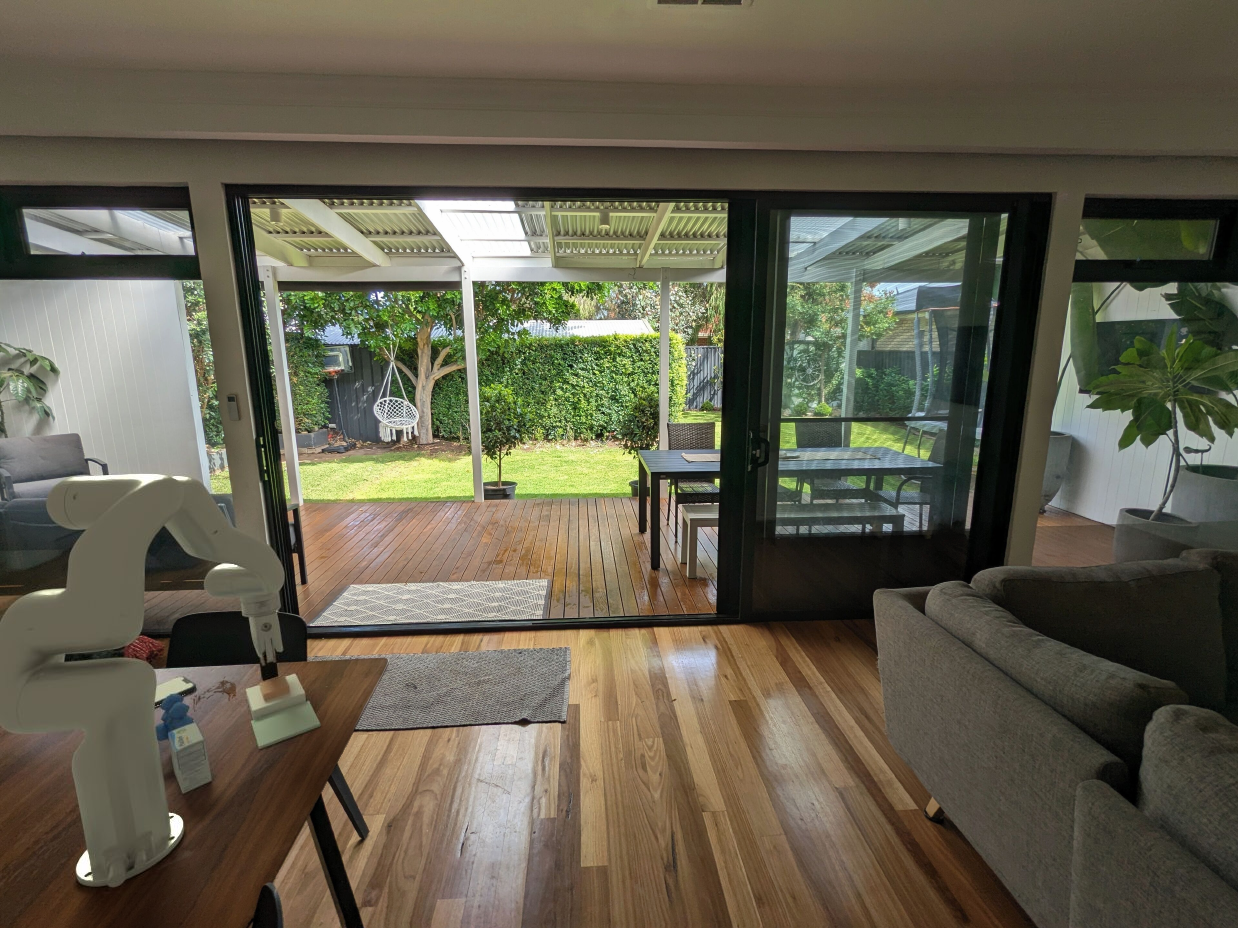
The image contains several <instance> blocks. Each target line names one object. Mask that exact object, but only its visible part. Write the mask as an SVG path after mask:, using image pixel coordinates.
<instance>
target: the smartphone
mask: <svg viewBox="0 0 1238 928" xmlns="http://www.w3.org/2000/svg"><path fill="white" fill-rule="evenodd" d="M195 689H196V690H197V685H196V683H194V682H193V681H191V680H190V679H188V678H187V677H185V676H178V677H175V678H173V679H169V680H168V681H165V682H162V683H159V684H157V685H156V696H155V706H157V705H160V704H162V702H163V700H164V699H165V698H166V697H167V696H169V695H170V694H174V693H175V694H178V695H180V696H182V695H184V694H187V693H189V694H191V693H193V692H195V691H196V690H195ZM194 690H195V691H194ZM192 691H193V692H192ZM190 692H191V693H190ZM187 695H188V694H187ZM184 696H185V695H184ZM182 697H183V696H182ZM160 706H161V705H160Z"/></svg>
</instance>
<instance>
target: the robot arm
mask: <svg viewBox="0 0 1238 928" xmlns="http://www.w3.org/2000/svg"><path fill="white" fill-rule="evenodd" d="M45 502H46V503H45V505H46V511H47V513H48V515H49V517H50V518H51V520H52V521H53V522H54V523H55V524H57V525H59V526H60V527H63V528H64V529H69V530H77V531H78V530H81V531H82V530H84V532H83V533H82V534H81V535H80V536H79V538H78V539H77V540H76V542H75V543H74V545H73V547H72V548H71V550H70V553H69V557H68V564H67V565H68V566H67V578H66V586H65V587H64V588H50V589H42V590H37V591H34V592H30V593H27V594H25V595H23V596H21V597H19V598H18V599H17V600H15V601H14V602H13V603H11V605H10V606H9V607H8V608H7V610H6V611H5V613H4V614H3V616H2V618H1V619H0V727H2V728H3V730H5V731H7V732H9V733H13V734H17V735H19V734H20V735H31V734H43V733H53V732H54V733H55V732H63V731H68V732H71V731H83V732H84V738H83V739H82V741H81V743H80V744H79V745H78V747H76V750H75V751H74V754H73V755H72V759H71V772H72V778H73V780H74V786H75V791H76V797H77V802H78V807H79V813H80V818H81V822H82V823H81V824H82V829H83V834H84V839H85V845H86V850H85V851H84V852H83V854H81V855H82V856H80V858H79V860H78V862H77V864H76V866H75V876H76V879H77V882H78V883H80V884H81V885H83V886H86V887H103V886H104V887H105V886H108V887H110V888H115V887H118V886H120V885H122V884H124V882H125V881H126V880H128V879H130V878H133V877H134V876H137V875H139V874H140V873H143V872H144V871H146V870H148V869H150V868H152V867H153V866H154V865H156V864H157V863H158V862H160V861H162V860H163V858H166V856H167V855H169V854H170V853H171V852H172V851H173V849H174V848H176V847H177V845H178V844H179V843H180V841H181V840H182V838H183V835H184V832H185V823H184V819H183V818H182V817H181V816H180V815H179V814H176V813H173V812H172V813H171V812H170V811H169V805H168V799H167V793H166V791H167V790H166V786H165V779H164V773H163V767H162V760H161V754H160V748H159V743H158V740H157V735H156V728H155V727H156V718H155V709H156V707H155V696H156V686H157V685H158V684H157V683H158V682H157V680H158V679H157V674H156V670H155V668H154V667H153V666H152V665H151V664H150V663H149V662H148V661H144V660H142V659H139V658H132V657H112V658H111V657H110V658H109V657H108V658H96V659H86V660H77V661H65V657H66V655H68V654H80V653H81V654H82V653H95V652H101V651H102V652H103V651H108V650H109V651H110V650H115V649H120V648H123V647H126V646H128V645H130V644H132V643H133V642H134V641H136V639H138V637H139V636H140V634H141V632H142V630H143V626H144V620H145V619H144V618H145V578H146V577H145V574H146V573H145V569H146V567H145V566H146V558H147V552H148V550H149V547H150V545H151V543H152V541H153V539H154V538H155V536H156V535H157V534H158V533H159V532H160V530H161V529H162V528H163V527H165V529H167V530H168V532H169V533H170V534H171V535H172V536H173V538H174V539H175V540H176V542H177V543H178V544H179V545H180V547H181V548H182V549H183V551H184V552H185V553H187V554H188V555H189V556H192V557H193V558H194V557H195V558H198V559H202V560H205V561H210V562H215V563H220V564H218V565H216V566H214V567H212V569H210V570H209V571H208V573H207V574H206V576H205V577H204V580H203V581H204V582H203V587H204V591H205V593H206V594H207V595H208V596H209V597H211V598H213V599H221V600H223V599H227V600H228V599H238V598H239V600H240V607H241V615H242V616H243V617H245V618H248V621H249V626H250V633H251V638H252V642H253V646H254V648H255V651H256V654H257V656H258V657H259V668H260V675H261V676H260V678H261V679H262V681H263V682H265V681H268V680H271V679H274V678H278V677H279V670H278V661H277V658H276V652H277V653H278V652H279V653H282V652H283V651H284V647H283V641H282V635H281V627H280V621H279V617H278V612H277V611H279V610H280V608H281V607H282V606H281V599H280V598H281V597H280V590H281V588H282V587H283V586H284V583H285V570H284V567H283V564H282V562H281V560H280V559H279V557H278V555H277V553H276V551H275V550H274V549H273V548H272V546H270V545H269V544H268V543H266V542H265V541H263V540H262V539H260V538H257V537H256V536H254V535H252V534H250V533H248V532H246V531H244V530H241V529H239V528H236V527H234V526H232V525H231V523H230V522H229V520H228V518H227V517H226V516H225V514H224V513H223V512H222V510H221V508H220V507H219V505H218V503H216V501H215V499H214V497H213V496H212V495H211V492H210V491H209V490H208V489H207V488H206V486H205V485H204V483H202V482H201V481H200V480H198V479H197V478H193V477H189V476H178V475H177V476H174V475H172V476H171V475H166V474H159V473H158V474H157V473H156V474H155V473H154V474H153V473H136V474H135V473H133V474H132V473H131V474H113V475H112V474H111V475H110V474H109V475H90V476H89V475H88V476H87V475H86V476H73V477H69V478H66V479H63V480H61V481H60V482H58V483H57V484H55V485H54V486H52V488H51V489H50V491H49V492H48V494H47V496H46V501H45Z"/></svg>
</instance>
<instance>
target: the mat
mask: <svg viewBox="0 0 1238 928" xmlns="http://www.w3.org/2000/svg"><path fill="white" fill-rule="evenodd" d="M250 724H251V727H252V730H253V734H254V737H255V741H256V744H257V748H258V750H261V749H264V748H267V747H269V746H272V745H275V744H276V743H280V742H282V741H284V740H285V741H286V740H288V739H290V738H293V737H296V736H299V735H300V734H304V733H306V732H308V731H311V730H314V729H317V728H319V727H321V722H320V720H319V719H318V716H317V714H316V712H315V711H314V708H313V706H312V704H311V702H310V700H306V702H304V703H301V704H298V705H295V706H292V707H290V708H287V709H284V710H281V711H278V712H275V713H272V714H269V715H267V716H264V717H261V718H258V719H255V720H253V719H252V720H250Z"/></svg>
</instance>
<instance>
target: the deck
mask: <svg viewBox="0 0 1238 928" xmlns="http://www.w3.org/2000/svg"><path fill="white" fill-rule="evenodd" d="M285 677H286V680H287V682H288V684H289V686H290V693H287V694H284V695H281V696H278V697H275V698H272V699H269V700H266V701H264V699H263V696H262V693H261V691H260V684H258V685H255V686H251V687H248V688H245V693H246V701H247V704H248V707H249V711H250V714H251V717H252V720H255V719H258V718H261V717H264V716H267V715H269V714H272V713H275V712H278V711H281V710H284V709H287V708H290V707H292V706H295V705H298V704H301V703H304V702H307V700H306V692H305V690H304V688H303V686H302V684H301V682H300V680H299V678H298V676H297V675H296V673H293V674H290V675H287V676H285Z"/></svg>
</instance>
